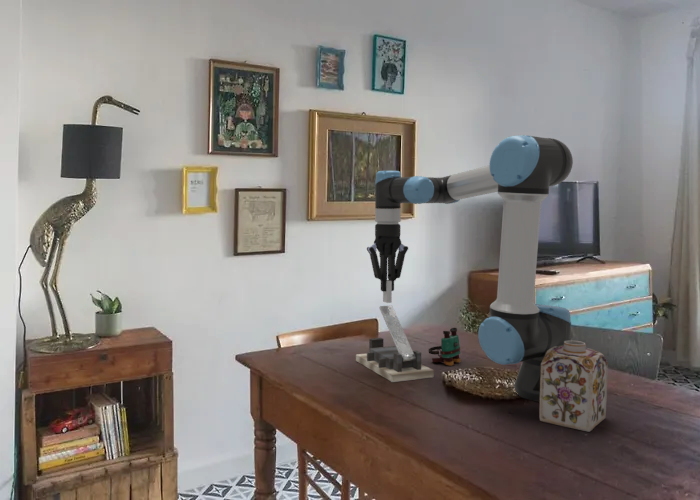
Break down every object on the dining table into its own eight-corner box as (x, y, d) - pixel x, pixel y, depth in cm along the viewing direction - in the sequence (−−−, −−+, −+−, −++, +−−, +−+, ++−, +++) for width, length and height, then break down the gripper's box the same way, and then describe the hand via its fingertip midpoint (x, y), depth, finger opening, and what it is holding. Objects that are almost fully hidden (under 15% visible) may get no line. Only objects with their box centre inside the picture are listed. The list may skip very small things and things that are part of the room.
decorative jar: (537, 421, 143) (539, 343, 142) (556, 408, 152) (558, 334, 151) (591, 433, 136) (594, 350, 135) (607, 418, 145) (610, 341, 144)
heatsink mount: (433, 377, 179) (433, 353, 178) (392, 382, 174) (392, 357, 173) (393, 356, 202) (393, 335, 201) (355, 360, 197) (356, 339, 196)
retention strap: (414, 361, 179) (416, 357, 178) (402, 362, 178) (403, 358, 177) (390, 308, 192) (392, 304, 191) (378, 309, 191) (380, 305, 190)
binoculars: (435, 326, 202) (463, 327, 196) (438, 359, 202) (466, 361, 196) (421, 331, 195) (449, 331, 189) (423, 365, 195) (452, 367, 189)
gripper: (401, 222, 194) (400, 298, 196) (362, 223, 189) (362, 301, 191) (413, 223, 187) (412, 302, 189) (373, 223, 182) (372, 305, 184)
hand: (387, 301), depth 190 cm, fingers closed
